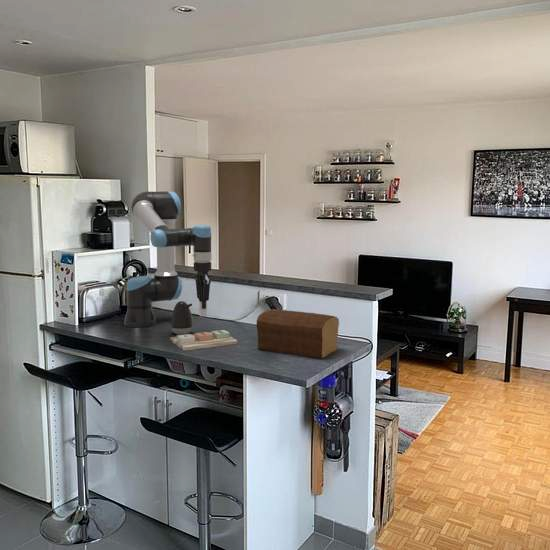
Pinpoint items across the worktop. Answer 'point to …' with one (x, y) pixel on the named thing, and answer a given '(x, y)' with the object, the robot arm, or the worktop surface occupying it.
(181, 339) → the tile one
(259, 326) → the bread
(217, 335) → the tile three
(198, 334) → the tile two
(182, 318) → the pump dispenser
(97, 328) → the worktop surface
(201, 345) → the board
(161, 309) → the worktop surface
